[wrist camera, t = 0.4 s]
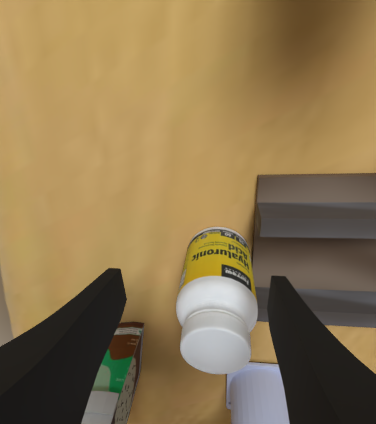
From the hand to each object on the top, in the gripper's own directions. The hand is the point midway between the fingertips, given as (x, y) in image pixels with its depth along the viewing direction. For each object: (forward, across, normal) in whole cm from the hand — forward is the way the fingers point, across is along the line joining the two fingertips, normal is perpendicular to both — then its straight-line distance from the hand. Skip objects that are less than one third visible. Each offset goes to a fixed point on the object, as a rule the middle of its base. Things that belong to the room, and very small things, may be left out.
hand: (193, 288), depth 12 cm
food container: (+10, +11, +19) cm, 24 cm away
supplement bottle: (+10, -1, +5) cm, 11 cm away
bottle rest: (+10, -12, +5) cm, 16 cm away
